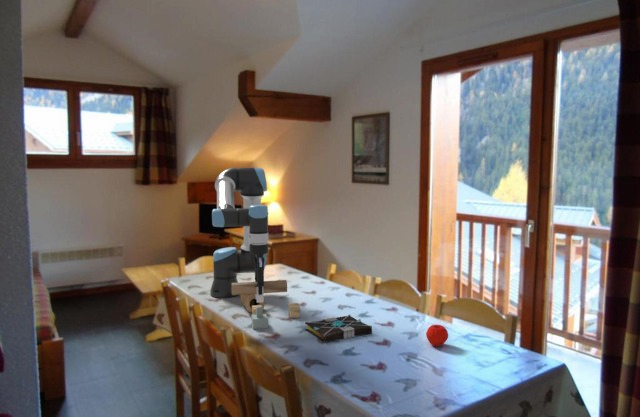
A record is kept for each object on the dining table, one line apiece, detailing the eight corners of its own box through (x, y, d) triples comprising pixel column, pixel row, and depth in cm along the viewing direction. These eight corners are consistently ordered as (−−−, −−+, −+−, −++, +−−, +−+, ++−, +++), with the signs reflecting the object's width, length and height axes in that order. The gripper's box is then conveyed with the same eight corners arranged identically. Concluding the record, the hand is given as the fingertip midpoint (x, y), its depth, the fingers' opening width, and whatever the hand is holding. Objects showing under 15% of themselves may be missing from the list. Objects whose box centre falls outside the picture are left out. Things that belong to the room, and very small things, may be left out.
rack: (252, 317, 206) (252, 305, 206) (297, 313, 211) (297, 302, 210) (253, 320, 201) (253, 309, 201) (299, 317, 206) (299, 306, 205)
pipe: (246, 315, 209) (245, 293, 208) (236, 305, 223) (235, 284, 222) (265, 312, 213) (265, 290, 212) (254, 303, 227) (254, 282, 226)
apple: (444, 350, 169) (444, 330, 168) (422, 346, 173) (423, 326, 172) (450, 343, 176) (451, 324, 175) (429, 339, 180) (430, 320, 179)
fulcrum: (251, 324, 197) (251, 305, 196) (266, 323, 198) (266, 304, 197) (253, 329, 191) (252, 309, 190) (268, 328, 192) (267, 308, 192)
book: (324, 344, 176) (324, 331, 175) (303, 330, 191) (303, 318, 190) (372, 334, 186) (372, 322, 186) (350, 322, 201) (350, 310, 200)
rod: (231, 292, 192) (231, 282, 192) (285, 289, 197) (285, 280, 197) (232, 295, 189) (232, 285, 188) (287, 291, 194) (287, 282, 193)
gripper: (247, 240, 199) (248, 295, 201) (251, 247, 182) (252, 307, 184) (265, 240, 201) (266, 294, 202) (270, 246, 184) (271, 305, 186)
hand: (259, 300), depth 193 cm, fingers closed on rod, 4 cm apart
